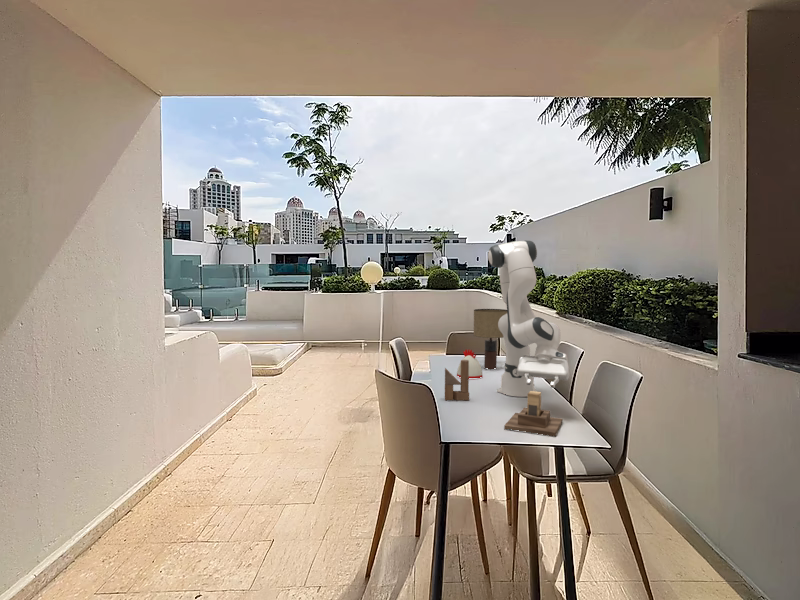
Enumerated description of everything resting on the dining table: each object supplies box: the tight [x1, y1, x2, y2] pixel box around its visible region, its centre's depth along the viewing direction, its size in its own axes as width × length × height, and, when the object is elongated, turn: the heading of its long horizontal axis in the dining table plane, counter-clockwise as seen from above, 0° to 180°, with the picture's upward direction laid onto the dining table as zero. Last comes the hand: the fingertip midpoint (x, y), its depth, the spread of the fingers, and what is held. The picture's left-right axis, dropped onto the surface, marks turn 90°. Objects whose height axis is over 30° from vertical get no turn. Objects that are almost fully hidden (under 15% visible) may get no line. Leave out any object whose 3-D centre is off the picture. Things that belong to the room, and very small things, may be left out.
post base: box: [503, 407, 564, 437], centre depth 183 cm, size 18×18×5 cm
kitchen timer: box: [456, 349, 483, 379], centre depth 269 cm, size 14×14×15 cm
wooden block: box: [444, 359, 470, 401], centre depth 220 cm, size 4×11×18 cm, turn 90°
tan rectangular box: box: [526, 391, 542, 416], centre depth 183 cm, size 5×4×11 cm
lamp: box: [473, 308, 507, 369], centre depth 289 cm, size 20×20×35 cm
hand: (540, 385), depth 193 cm, fingers open, 8 cm apart
